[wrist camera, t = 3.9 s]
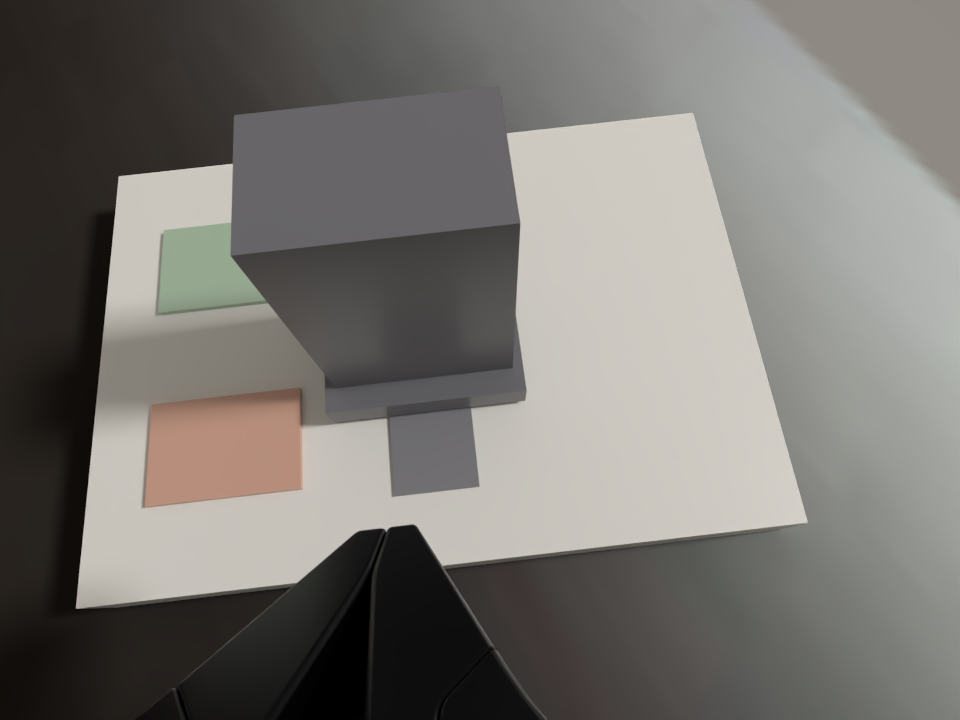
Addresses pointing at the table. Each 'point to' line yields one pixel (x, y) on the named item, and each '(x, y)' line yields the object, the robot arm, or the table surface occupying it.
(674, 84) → the table surface
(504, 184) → the handle
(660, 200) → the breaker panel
